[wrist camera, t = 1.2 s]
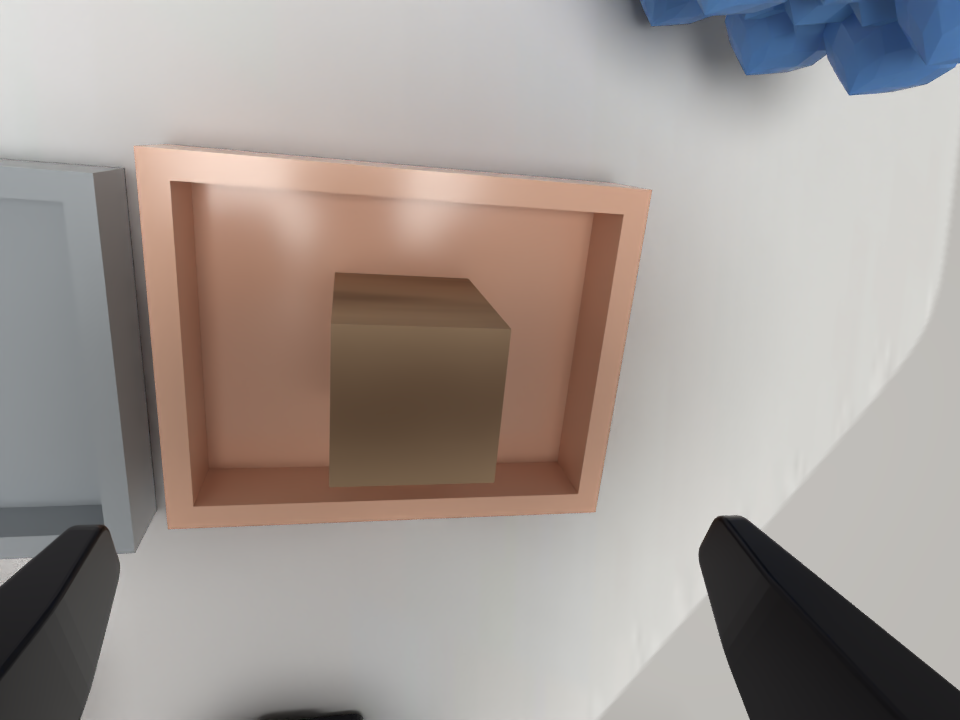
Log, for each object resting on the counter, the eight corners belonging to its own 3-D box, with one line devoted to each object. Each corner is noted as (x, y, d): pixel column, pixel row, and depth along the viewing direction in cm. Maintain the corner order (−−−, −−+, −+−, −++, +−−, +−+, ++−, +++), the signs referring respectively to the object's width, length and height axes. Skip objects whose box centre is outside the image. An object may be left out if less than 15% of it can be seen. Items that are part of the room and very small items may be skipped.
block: (458, 398, 23) (493, 482, 17) (333, 397, 22) (329, 487, 16) (468, 278, 21) (511, 329, 16) (335, 272, 20) (331, 323, 15)
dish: (568, 471, 26) (595, 512, 23) (190, 480, 22) (167, 529, 20) (613, 182, 22) (652, 189, 19) (165, 144, 19) (133, 145, 16)
